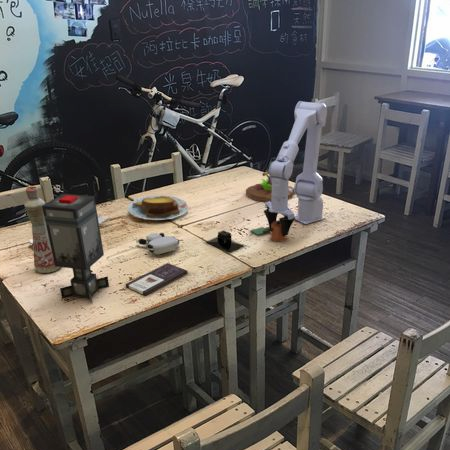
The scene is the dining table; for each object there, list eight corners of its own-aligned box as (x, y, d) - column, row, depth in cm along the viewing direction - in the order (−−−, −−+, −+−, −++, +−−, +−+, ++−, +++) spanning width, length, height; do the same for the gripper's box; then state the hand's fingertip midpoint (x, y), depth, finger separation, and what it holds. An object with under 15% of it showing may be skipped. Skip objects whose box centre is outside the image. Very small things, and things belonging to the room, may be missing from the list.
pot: (279, 234, 189) (280, 217, 185) (288, 239, 185) (289, 221, 181) (258, 240, 185) (258, 223, 181) (266, 245, 181) (267, 227, 177)
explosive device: (80, 282, 160) (62, 190, 145) (109, 286, 158) (94, 193, 142) (62, 298, 152) (40, 202, 137) (92, 303, 149) (74, 205, 134)
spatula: (281, 223, 198) (281, 221, 198) (288, 227, 194) (288, 225, 194) (250, 231, 192) (250, 229, 191) (257, 236, 188) (257, 234, 188)
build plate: (244, 246, 181) (244, 234, 178) (229, 253, 176) (229, 241, 174) (219, 236, 188) (219, 225, 186) (205, 243, 184) (204, 231, 181)
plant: (238, 194, 227) (237, 170, 222) (268, 184, 239) (268, 160, 233) (271, 205, 215) (271, 179, 209) (301, 194, 226) (302, 169, 220)
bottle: (68, 263, 172) (51, 182, 158) (54, 275, 165) (35, 191, 151) (44, 261, 174) (26, 181, 160) (30, 273, 167) (9, 190, 152)
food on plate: (178, 198, 225) (177, 184, 222) (197, 217, 205) (196, 202, 202) (122, 207, 217) (120, 192, 214) (135, 227, 198) (133, 211, 194)
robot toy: (134, 248, 183) (154, 260, 172) (132, 236, 181) (152, 247, 170) (164, 239, 189) (185, 250, 178) (163, 228, 187) (184, 238, 176)
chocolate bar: (187, 270, 163) (145, 292, 152) (187, 273, 164) (145, 295, 152) (167, 262, 168) (125, 283, 157) (167, 265, 169) (126, 286, 157)
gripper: (258, 192, 181) (258, 227, 188) (283, 204, 170) (281, 241, 177) (274, 188, 184) (273, 223, 191) (299, 199, 173) (297, 236, 180)
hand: (278, 231), depth 184 cm, fingers open, 7 cm apart
